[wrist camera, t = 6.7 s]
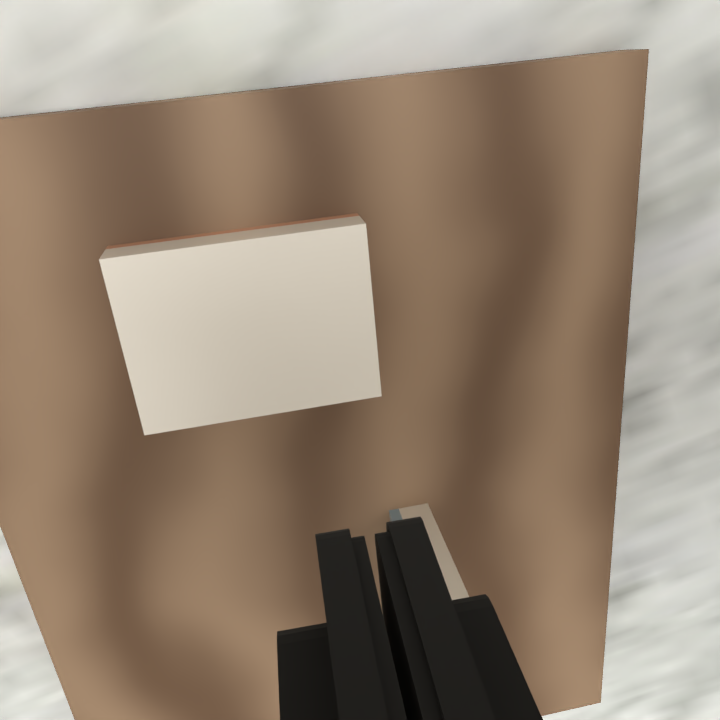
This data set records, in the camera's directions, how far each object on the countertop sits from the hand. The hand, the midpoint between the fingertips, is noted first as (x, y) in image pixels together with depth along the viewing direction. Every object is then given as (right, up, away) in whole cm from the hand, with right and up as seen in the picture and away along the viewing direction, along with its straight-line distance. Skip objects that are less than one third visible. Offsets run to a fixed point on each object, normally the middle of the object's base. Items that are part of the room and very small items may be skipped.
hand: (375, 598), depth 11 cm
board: (-2, -1, +17) cm, 17 cm away
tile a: (0, +6, +12) cm, 13 cm away
